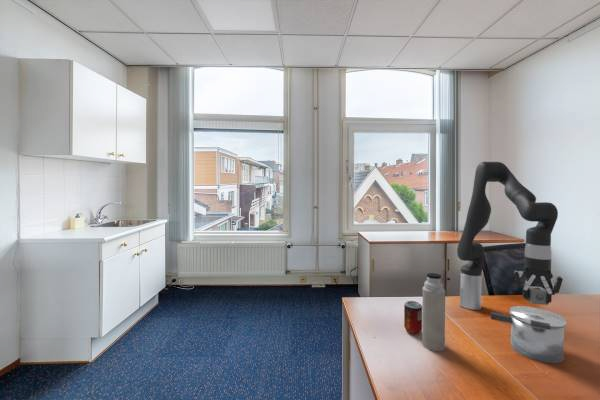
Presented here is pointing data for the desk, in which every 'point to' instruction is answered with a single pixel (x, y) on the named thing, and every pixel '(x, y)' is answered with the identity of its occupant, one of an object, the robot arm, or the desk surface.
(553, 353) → the pressure cooker pot
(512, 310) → the pressure cooker lid
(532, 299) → the dice cube
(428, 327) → the thermos bottle
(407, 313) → the soda can
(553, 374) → the desk surface
